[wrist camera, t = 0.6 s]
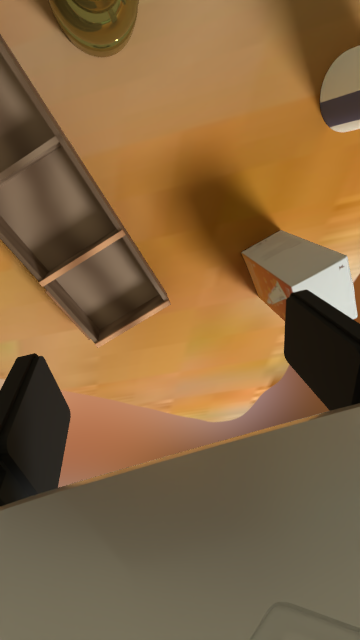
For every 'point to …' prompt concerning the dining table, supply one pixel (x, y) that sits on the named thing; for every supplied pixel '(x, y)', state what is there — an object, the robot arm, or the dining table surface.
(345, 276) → the small box
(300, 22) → the dining table surface
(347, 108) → the water bottle
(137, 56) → the dining table surface
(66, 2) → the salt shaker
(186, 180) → the dining table surface
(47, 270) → the wooden compartment tray
